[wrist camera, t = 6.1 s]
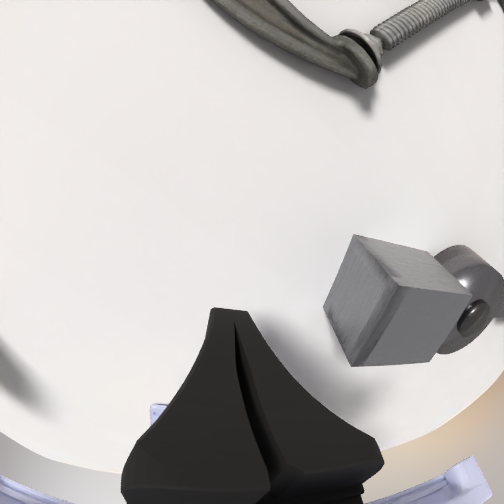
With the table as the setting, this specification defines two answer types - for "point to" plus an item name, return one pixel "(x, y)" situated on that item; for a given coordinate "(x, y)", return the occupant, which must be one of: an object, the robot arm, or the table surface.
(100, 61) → the table surface
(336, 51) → the c clamp
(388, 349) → the brushed steel cube
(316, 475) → the robot arm
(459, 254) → the ratchet
